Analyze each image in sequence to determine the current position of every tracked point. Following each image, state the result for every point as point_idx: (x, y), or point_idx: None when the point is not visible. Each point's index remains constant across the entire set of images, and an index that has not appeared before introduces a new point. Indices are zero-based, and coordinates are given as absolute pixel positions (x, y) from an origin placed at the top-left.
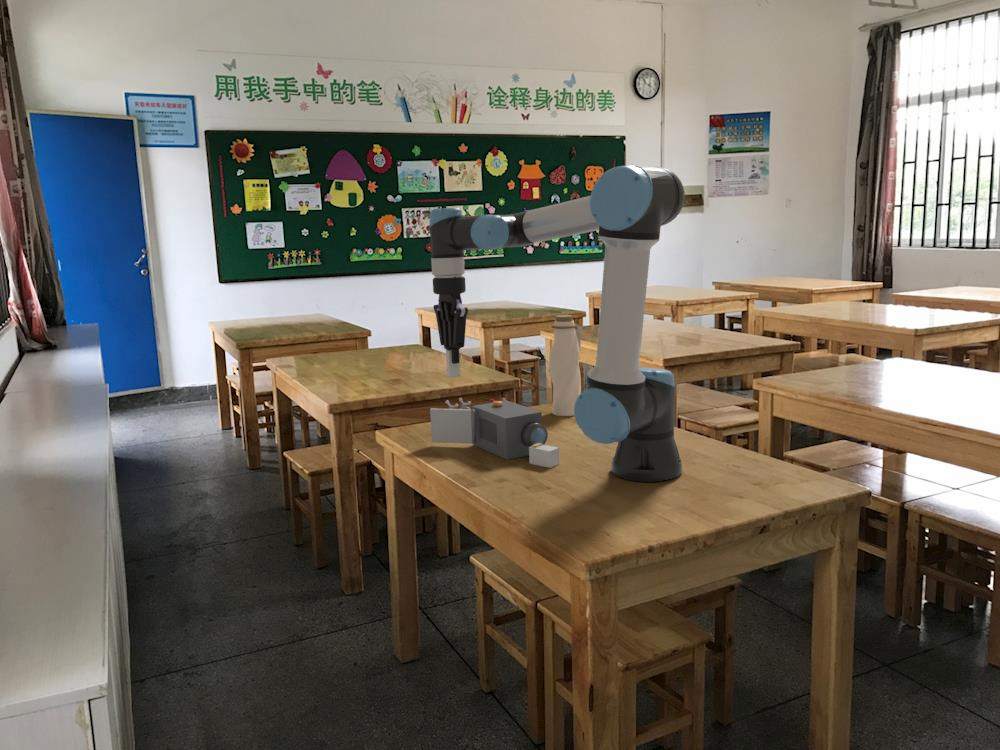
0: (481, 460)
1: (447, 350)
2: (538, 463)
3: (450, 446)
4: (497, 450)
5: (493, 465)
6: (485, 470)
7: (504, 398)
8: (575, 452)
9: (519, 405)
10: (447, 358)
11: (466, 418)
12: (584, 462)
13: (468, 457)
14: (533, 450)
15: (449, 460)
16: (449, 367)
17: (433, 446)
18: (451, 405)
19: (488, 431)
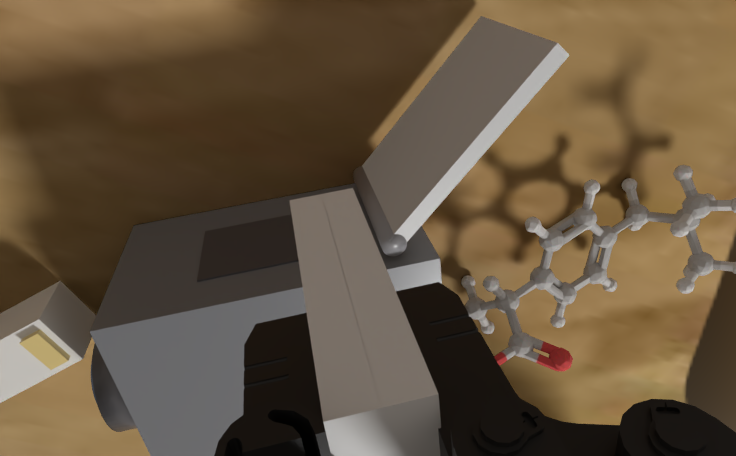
0: (165, 137)
1: (270, 403)
2: (22, 304)
3: (423, 86)
4: (203, 221)
5: (74, 158)
6: (7, 105)
7: None
8: None
9: None
10: (363, 308)
11: (400, 195)
12: (18, 423)
13: (231, 102)
14: (23, 323)
15: (219, 9)
16: (302, 253)
17: (464, 17)
18: (706, 211)
19: (270, 239)
